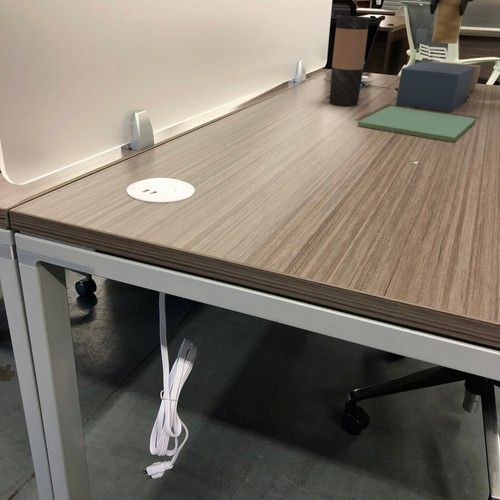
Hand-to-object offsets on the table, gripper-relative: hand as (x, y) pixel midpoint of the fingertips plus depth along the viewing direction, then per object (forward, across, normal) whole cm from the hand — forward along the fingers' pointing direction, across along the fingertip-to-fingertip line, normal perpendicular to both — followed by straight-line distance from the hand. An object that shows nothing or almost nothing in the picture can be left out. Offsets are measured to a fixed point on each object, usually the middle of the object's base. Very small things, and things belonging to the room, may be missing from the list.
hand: (446, 10), depth 112 cm
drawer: (-4, +2, -34) cm, 34 cm away
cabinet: (+7, +2, -24) cm, 25 cm away
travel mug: (+19, +20, -13) cm, 30 cm away
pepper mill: (+2, 0, -7) cm, 8 cm away
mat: (+26, -2, -6) cm, 26 cm away
